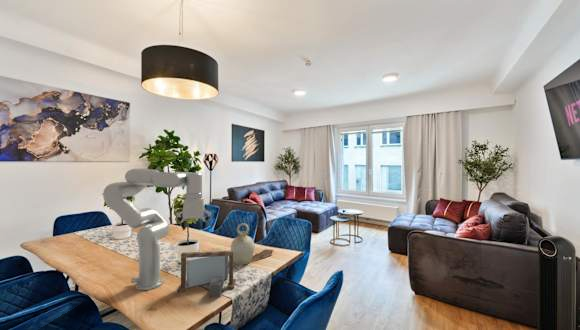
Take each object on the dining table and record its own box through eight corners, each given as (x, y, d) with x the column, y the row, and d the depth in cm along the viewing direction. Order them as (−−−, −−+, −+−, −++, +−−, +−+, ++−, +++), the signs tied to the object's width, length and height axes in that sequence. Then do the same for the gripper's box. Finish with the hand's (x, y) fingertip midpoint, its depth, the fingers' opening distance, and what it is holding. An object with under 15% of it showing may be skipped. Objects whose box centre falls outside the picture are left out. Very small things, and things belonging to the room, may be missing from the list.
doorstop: (209, 297, 110) (209, 285, 110) (214, 282, 125) (214, 271, 125) (220, 297, 111) (220, 284, 111) (224, 281, 126) (224, 270, 126)
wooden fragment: (267, 248, 176) (267, 247, 176) (279, 251, 170) (279, 250, 170) (243, 260, 154) (243, 259, 154) (256, 264, 148) (256, 263, 148)
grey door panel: (186, 288, 118) (186, 260, 118) (186, 287, 119) (186, 260, 119) (227, 278, 128) (228, 253, 128) (227, 277, 129) (227, 252, 129)
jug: (236, 255, 162) (236, 220, 162) (257, 257, 159) (257, 221, 159) (226, 264, 147) (226, 225, 147) (249, 266, 144) (249, 226, 144)
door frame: (176, 292, 114) (176, 256, 114) (182, 284, 122) (182, 250, 122) (234, 288, 118) (234, 253, 118) (235, 281, 126) (235, 248, 126)
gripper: (174, 197, 114) (173, 231, 114) (209, 197, 117) (209, 230, 117) (179, 195, 122) (178, 227, 122) (212, 195, 124) (212, 226, 124)
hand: (194, 229), depth 119 cm, fingers open, 9 cm apart
